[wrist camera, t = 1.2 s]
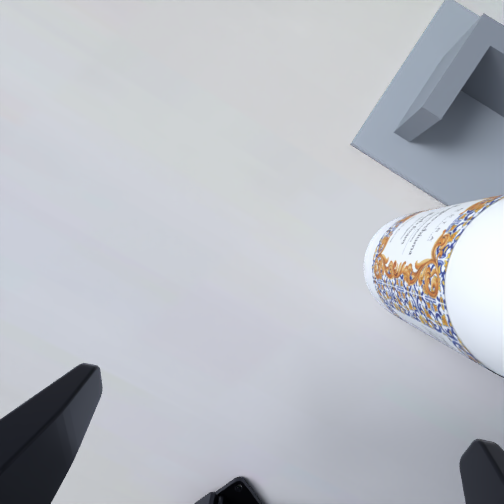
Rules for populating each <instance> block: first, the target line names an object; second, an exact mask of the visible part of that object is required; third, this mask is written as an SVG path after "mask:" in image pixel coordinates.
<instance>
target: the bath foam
mask: <svg viewBox="0 0 504 504" xmlns="http://www.w3.org/2000/svg"><path fill="white" fill-rule="evenodd" d="M364 276H365V280H366V283H367V286H368V288H369V291H370V292H371V294H372V295H373V297H374V298H375V299H376V300H377V302H378V303H379V304H380V305H382V306H383V307H384V308H385V309H386V310H388V311H389V312H390V313H392V314H394V315H395V316H397V317H398V318H400V319H402V320H404V321H405V322H407V323H409V324H410V325H412V326H414V327H416V328H417V329H419V330H421V331H423V332H424V333H426V334H428V335H429V336H431V337H433V338H435V339H436V340H438V341H440V342H442V343H443V344H445V345H447V346H448V347H450V348H452V349H454V350H455V351H457V352H459V353H461V354H462V355H464V356H466V357H467V358H469V359H471V360H473V361H474V362H476V363H478V364H480V365H481V366H483V367H485V368H487V369H488V370H490V371H492V372H493V373H495V374H497V375H499V376H501V377H503V378H504V194H503V195H499V196H494V197H489V198H484V199H479V200H474V201H470V202H465V203H460V204H455V205H450V206H445V207H440V208H436V209H431V210H426V211H421V212H417V213H413V214H408V215H404V216H401V217H398V218H396V219H394V220H392V221H390V222H389V223H387V224H386V225H384V226H383V227H382V228H381V229H380V230H379V231H378V232H377V233H376V234H375V235H374V237H373V238H372V240H371V241H370V243H369V245H368V248H367V250H366V254H365V258H364Z"/></svg>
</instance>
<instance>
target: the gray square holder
mask: <svg viewBox="0 0 504 504" xmlns="http://www.w3.org/2000/svg"><path fill="white" fill-rule="evenodd" d="M351 145H352V146H354V147H355V148H357V149H358V150H360V151H362V152H363V153H365V154H366V155H368V156H369V157H371V158H373V159H374V160H376V161H377V162H379V163H380V164H382V165H384V166H385V167H387V168H388V169H390V170H391V171H393V172H394V173H396V174H398V175H399V176H401V177H402V178H404V179H405V180H407V181H409V182H410V183H412V184H413V185H415V186H416V187H418V188H420V189H421V190H423V191H424V192H426V193H427V194H429V195H431V196H432V197H434V198H435V199H437V200H438V201H440V202H442V203H443V204H445V205H446V206H450V205H455V204H460V203H465V202H470V201H474V200H479V199H484V198H489V197H494V196H499V195H503V194H504V26H503V25H502V24H500V23H498V22H497V21H495V20H494V19H492V18H490V17H489V16H487V15H486V14H483V15H482V16H481V17H480V16H478V15H476V14H475V13H473V12H472V11H470V10H468V9H467V8H465V7H464V6H462V5H460V4H459V3H457V2H456V1H454V0H445V1H444V2H443V4H442V5H441V7H440V8H439V10H438V11H437V13H436V14H435V16H434V17H433V19H432V20H431V22H430V24H429V25H428V27H427V28H426V30H425V31H424V33H423V34H422V36H421V37H420V39H419V40H418V42H417V43H416V45H415V46H414V48H413V50H412V51H411V53H410V54H409V56H408V57H407V59H406V60H405V62H404V63H403V65H402V66H401V68H400V69H399V71H398V72H397V74H396V76H395V77H394V79H393V80H392V82H391V83H390V85H389V86H388V88H387V89H386V91H385V92H384V94H383V95H382V97H381V98H380V100H379V101H378V103H377V105H376V106H375V108H374V109H373V111H372V112H371V114H370V115H369V117H368V118H367V120H366V121H365V123H364V124H363V126H362V127H361V129H360V131H359V132H358V134H357V135H356V137H355V138H354V140H353V141H352V143H351Z"/></svg>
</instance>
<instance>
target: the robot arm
mask: <svg viewBox="0 0 504 504" xmlns="http://www.w3.org/2000/svg"><path fill="white" fill-rule="evenodd" d="M101 394H102V380H101V372H100V368H99V367H98V366H97V365H92V364H87V363H82V364H80V365H78V366H77V367H75V368H74V369H72V370H71V371H69V372H68V373H66V374H65V375H64V376H62V377H61V378H59V379H58V380H56V381H55V382H53V383H52V384H51V385H49V386H48V387H46V388H45V389H43V390H42V391H40V392H39V393H38V394H36V395H35V396H33V397H32V398H30V399H29V400H28V401H26V402H25V403H23V404H22V405H20V406H19V407H17V408H16V409H15V410H13V411H12V412H10V413H9V414H7V415H6V416H4V417H3V418H2V419H0V504H51V502H52V500H53V498H54V496H55V495H56V493H57V491H58V489H59V487H60V485H61V484H62V482H63V480H64V478H65V476H66V474H67V472H68V471H69V469H70V467H71V465H72V463H73V461H74V459H75V456H76V454H77V452H78V450H79V447H80V445H81V443H82V440H83V438H84V435H85V433H86V431H87V428H88V426H89V424H90V421H91V419H92V416H93V414H94V412H95V409H96V407H97V405H98V402H99V400H100V397H101ZM460 473H461V479H462V484H463V490H464V496H465V501H466V504H504V451H503V449H502V448H501V447H500V446H499V445H497V444H496V443H494V442H491V441H486V440H481V439H476V440H474V441H473V442H472V443H471V445H470V446H469V447H468V449H467V450H466V451H465V453H464V454H463V455H462V457H461V459H460ZM238 484H239V485H241V486H242V487H241V488H238V487H236V485H238ZM195 504H262V502H261V501H260V500H259V498H258V497H257V496H256V494H255V493H254V492H253V490H252V489H251V488H250V486H249V485H248V484H247V482H246V481H245V480H244V479H243V478H241V477H237V478H235V479H233V480H232V481H230V482H229V483H228V484H226V485H225V486H223V487H222V488H220V489H219V490H218V491H216V492H210V493H209V494H207V495H206V496H204V497H203V498H202V499H200V500H199V501H197V502H196V503H195Z"/></svg>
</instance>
